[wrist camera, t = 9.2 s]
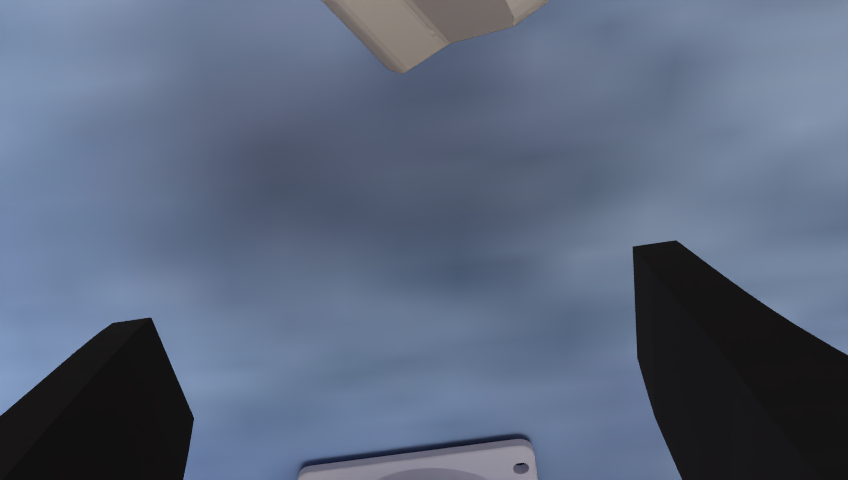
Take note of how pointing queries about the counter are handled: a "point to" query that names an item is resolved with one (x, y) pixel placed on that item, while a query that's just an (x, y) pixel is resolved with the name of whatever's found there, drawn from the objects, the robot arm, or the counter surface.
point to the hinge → (425, 24)
